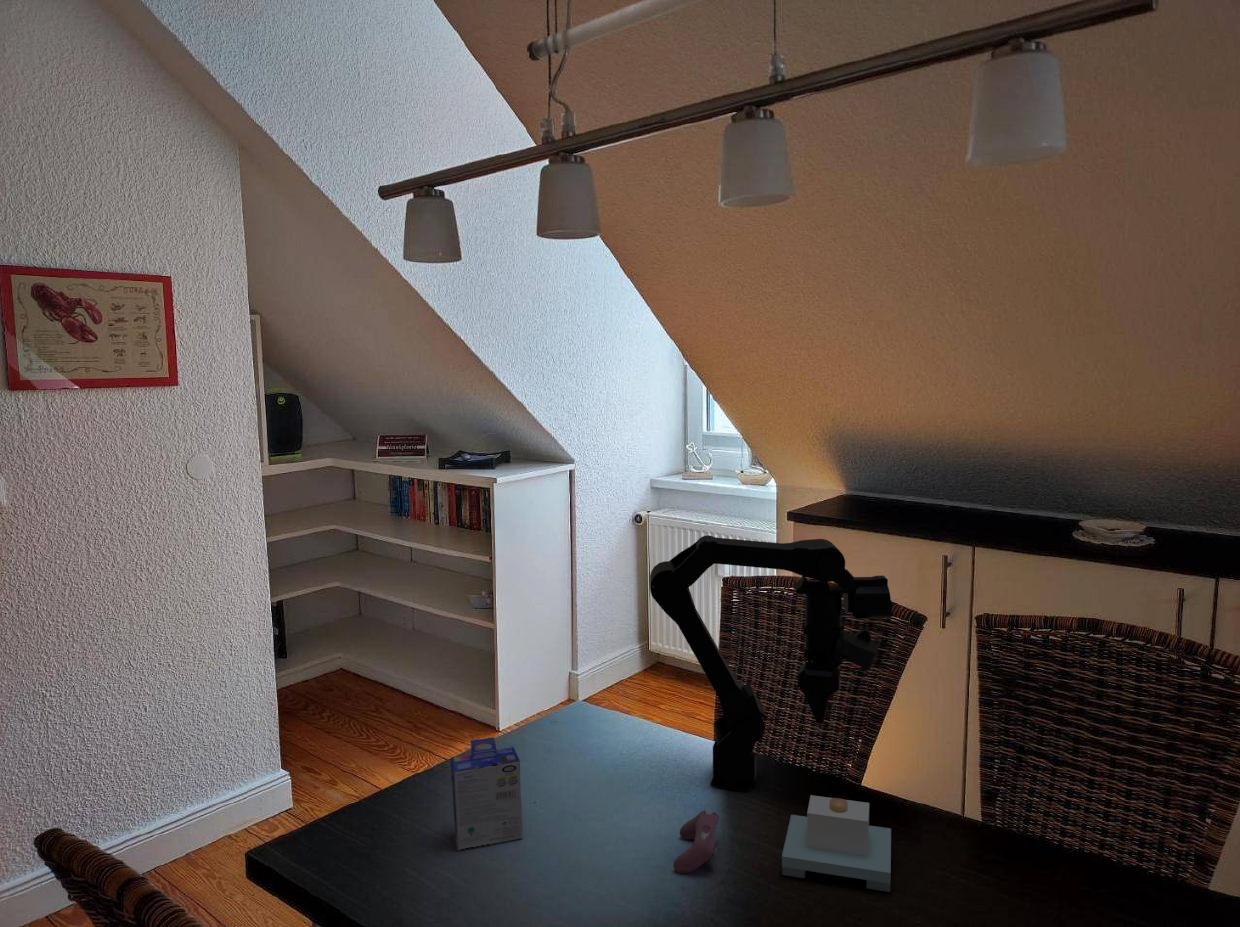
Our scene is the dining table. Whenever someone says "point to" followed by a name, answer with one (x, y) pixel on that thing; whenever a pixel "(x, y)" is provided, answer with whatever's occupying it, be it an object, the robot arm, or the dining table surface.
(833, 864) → the teal stand
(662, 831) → the dining table surface
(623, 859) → the dining table surface
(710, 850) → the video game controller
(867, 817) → the grey housing
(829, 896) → the dining table surface
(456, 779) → the ink cartridge box
